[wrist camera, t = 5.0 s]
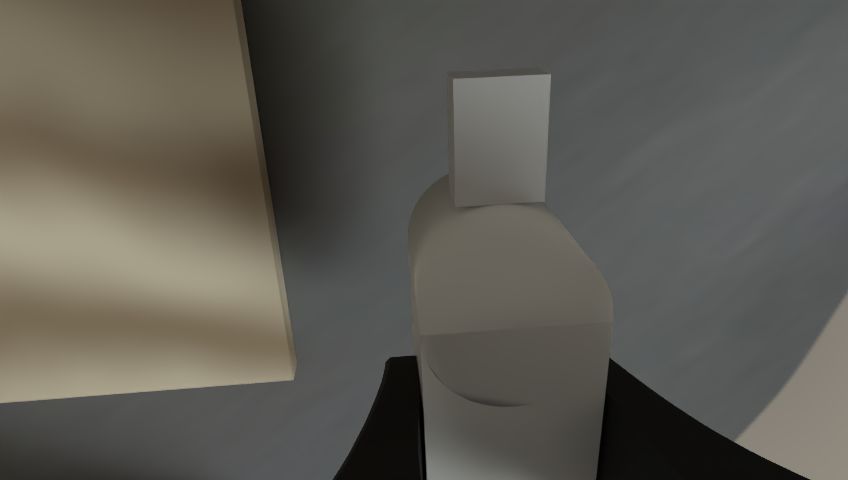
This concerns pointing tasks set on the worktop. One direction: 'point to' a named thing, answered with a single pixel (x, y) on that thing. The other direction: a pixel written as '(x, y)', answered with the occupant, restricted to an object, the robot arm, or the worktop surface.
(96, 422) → the worktop surface
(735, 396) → the worktop surface
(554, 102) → the worktop surface
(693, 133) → the worktop surface
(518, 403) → the usb connector
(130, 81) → the wood pad
